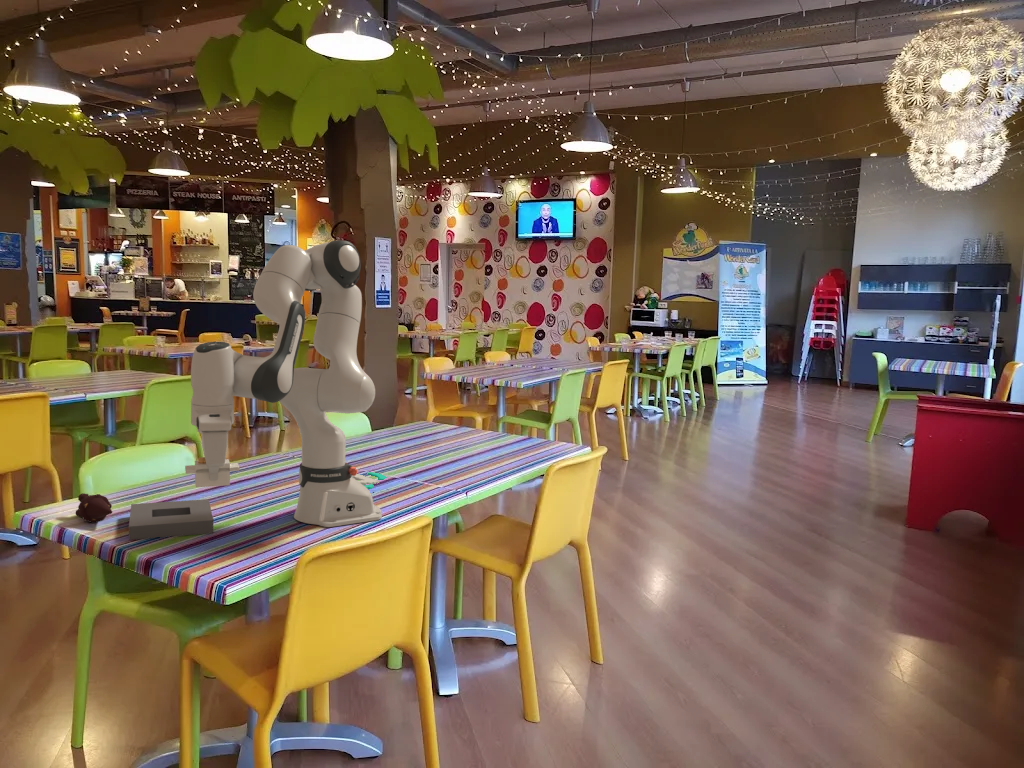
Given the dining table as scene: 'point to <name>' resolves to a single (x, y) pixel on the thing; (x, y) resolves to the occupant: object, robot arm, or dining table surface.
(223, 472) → the servo
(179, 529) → the grey board with hole
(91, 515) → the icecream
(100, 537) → the dining table surface
